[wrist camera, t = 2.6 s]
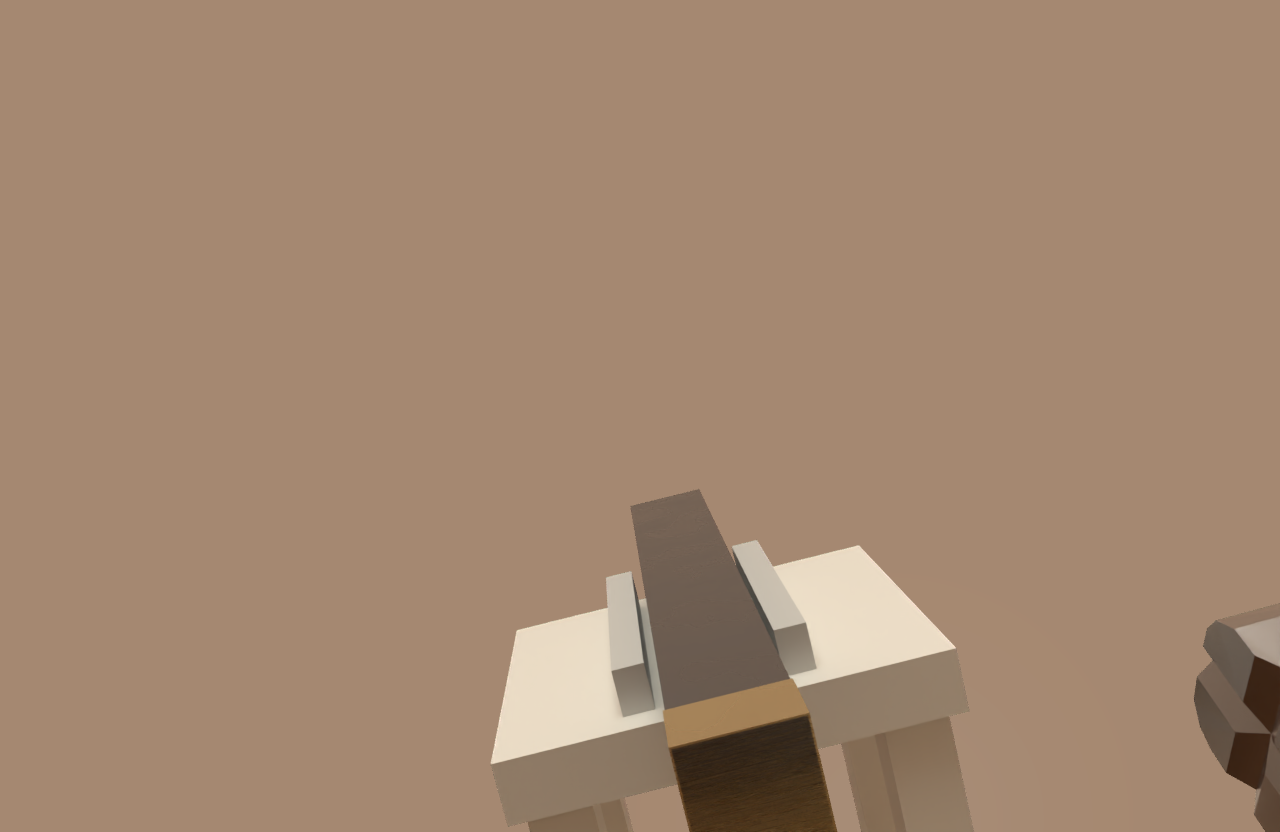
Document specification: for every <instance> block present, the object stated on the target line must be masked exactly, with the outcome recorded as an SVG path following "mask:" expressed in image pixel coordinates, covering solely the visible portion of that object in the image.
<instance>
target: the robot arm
mask: <svg viewBox="0 0 1280 832" xmlns="http://www.w3.org/2000/svg"><path fill="white" fill-rule="evenodd" d="M1203 647H1204V648H1205V650H1206V651H1207V653H1208V654H1209V655H1210V657H1211V658H1212V659H1213V661H1212V662H1211V663H1210V664H1209V665H1208V666H1207V667H1206V668H1205V669H1204V670H1203V671H1202V672H1201V673H1200V674H1199V675H1198V676H1197V680H1196V688H1195V695H1194V702H1195V706H1196V711H1197V715H1198V720H1199V724H1200V727H1201V730H1202V732H1203V734H1204V736H1205V738H1206V740H1207V742H1208V744H1209V746H1210V748H1211V750H1212V752H1213V753H1214V755H1215V757H1216V758H1217V760H1218V761H1219V763H1220V764H1221V766H1222V767H1223V769H1224V770H1225V772H1226V773H1228V774H1229V775H1231V776H1233V777H1235V778H1237V779H1238V780H1240V781H1242V782H1244V783H1246V784H1247V785H1249V786H1251V787H1253V788H1254V789H1256V798H1255V811H1254V815H1255V817H1256V818H1257V820H1258V821H1259V823H1260V824H1261V826H1262V827H1263V829H1264V830H1265V832H1280V603H1279V604H1275V605H1271V606H1268V607H1264V608H1260V609H1257V610H1253V611H1249V612H1245V613H1242V614H1238V615H1235V616H1230V617H1227V618H1223V619H1219V620H1216V621H1215V622H1214V623H1213V624H1212V625H1210V626H1209V627H1208V628H1207V631H1206V636H1205V640H1204V645H1203Z"/></svg>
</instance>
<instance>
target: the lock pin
mask: <svg viewBox="0 0 1280 832" xmlns="http://www.w3.org/2000/svg"><path fill="white" fill-rule="evenodd" d="M631 512H632V518H633V524H634V530H635V536H636V541H637V548H638V553H639V560H640V566H641V572H642V578H643V584H644V590H645V596H646V602H647V608H648V614H649V620H650V626H651V632H652V638H653V644H654V650H655V656H656V661H657V667H658V673H659V679H660V685H661V691H662V697H663V703H664V709H665V710H663V718H664V724H665V730H666V736H667V742H668V748H669V752H670V756H671V760H672V764H673V768H674V772H675V776H676V780H677V784H678V787H679V792H680V796H681V799H682V803H683V808H684V811H685V815H686V819H687V823H688V827H689V831H690V832H837V829H836V824H835V821H834V816H833V811H832V808H831V803H830V798H829V794H828V790H827V786H826V781H825V777H824V773H823V768H822V764H821V760H820V755H819V752H818V747H817V742H816V738H815V734H814V729H813V725H812V721H811V716H810V712H809V710H808V708H807V706H806V704H805V702H804V700H803V698H802V696H801V694H800V692H799V690H798V688H797V686H796V684H795V682H794V680H793V678H791V679H790V677H789V675H788V673H787V671H786V669H785V667H784V665H783V663H782V661H781V658H780V656H779V654H778V652H777V650H776V648H775V646H774V644H773V642H772V640H771V638H770V636H769V634H768V631H767V629H766V627H765V625H764V623H763V621H762V619H761V617H760V615H759V613H758V611H757V609H756V607H755V604H754V602H753V600H752V598H751V596H750V594H749V592H748V590H747V588H746V586H745V584H744V582H743V579H742V577H741V575H740V573H739V571H738V569H737V567H736V565H735V563H734V561H733V559H732V557H731V555H730V553H729V551H728V548H727V546H726V544H725V542H724V540H723V538H722V536H721V534H720V532H719V530H718V528H717V525H716V523H715V521H714V519H713V517H712V515H711V513H710V511H709V509H708V507H707V505H706V503H705V501H704V499H703V497H702V494H701V492H700V490H699V489H698V490H695V491H690V492H686V493H682V494H678V495H674V496H670V497H666V498H662V499H658V500H654V501H650V502H645V503H641V504H638V505H634V506H631Z"/></svg>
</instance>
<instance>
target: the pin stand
mask: <svg viewBox="0 0 1280 832" xmlns="http://www.w3.org/2000/svg"><path fill="white" fill-rule="evenodd" d="M732 549H733V554H734V558H735V562H736V567H737V569H738V571H739V573H740V575H741V577H742V579H743V582H744V584H745V586H746V588H747V590H748V592H749V594H750V596H751V598H752V600H753V602H754V604H755V607H756V609H757V611H758V613H759V615H760V617H761V619H762V621H763V623H764V625H765V627H766V629H767V631H768V634H769V636H770V638H771V640H772V642H773V644H774V646H775V648H776V650H777V652H778V654H779V656H780V658H781V661H782V663H783V665H784V667H785V669H786V671H787V673H788V675H789V677H790V679H791V678H793V680H794V682H795V684H796V686H797V688H798V690H799V692H800V694H801V696H802V698H803V700H804V702H805V704H806V706H807V708H808V710H809V712H810V716H811V721H812V725H813V729H814V734H815V738H816V742H817V747H818V749H821V748H825V747H829V746H833V745H837V744H841V745H842V749H843V753H844V757H845V762H846V766H847V771H848V775H849V780H850V784H851V788H852V793H853V797H854V802H855V806H856V810H857V815H858V819H859V823H860V828H861V832H974V830H973V826H972V821H971V817H970V811H969V807H968V802H967V797H966V793H965V788H964V784H963V779H962V774H961V769H960V765H959V760H958V756H957V751H956V746H955V741H954V736H953V732H952V727H951V722H950V718H949V716H953V715H957V714H961V713H965V712H968V711H969V707H968V702H967V698H966V693H965V688H964V683H963V678H962V674H961V669H960V664H959V660H958V655H957V650H956V648H955V646H953V644H952V643H951V642H950V641H949V640H948V639H947V638H946V637H945V636H944V635H943V634H942V633H941V632H940V631H939V629H938V628H937V627H936V626H935V625H934V624H933V623H932V622H931V621H930V620H929V619H928V618H927V617H926V616H925V615H924V614H923V613H922V612H921V611H920V609H919V608H918V607H917V606H916V605H915V604H914V603H913V602H912V601H911V600H910V599H909V598H908V597H907V596H906V595H905V594H904V593H903V592H902V591H901V589H900V588H899V587H898V586H897V585H896V584H895V583H894V582H893V581H892V580H891V579H890V578H889V577H888V576H887V575H886V574H885V573H884V571H883V570H882V569H881V568H880V567H879V566H878V565H877V564H876V563H875V562H874V561H873V560H872V559H871V558H870V557H869V556H868V555H867V554H866V553H865V552H864V550H862V548H861V547H860V546H859V545H858V546H854V547H850V548H846V549H843V550H838V551H834V552H831V553H826V554H822V555H818V556H814V557H810V558H806V559H802V560H798V561H794V562H790V563H786V564H782V565H778V566H774V567H773V566H772V565H771V563H770V561H769V560H768V558H767V556H766V555H765V553H764V552H763V550H762V548H761V546H760V545H759V543H758V541H757V540H755V541H751V542H747V543H743V544H739V545H735V546H732ZM606 582H607V601H608V608H605V609H601V610H597V611H593V612H589V613H585V614H581V615H577V616H573V617H569V618H565V619H561V620H557V621H553V622H549V623H545V624H541V625H537V626H533V627H528V628H524V629H521V630H517V633H516V638H515V643H514V648H513V653H512V658H511V663H510V669H509V674H508V679H507V684H506V689H505V694H504V699H503V704H502V709H501V714H500V719H499V725H498V730H497V735H496V740H495V745H494V750H493V755H492V760H491V767H492V771H493V775H494V778H495V782H496V785H497V789H498V793H499V796H500V800H501V803H502V807H503V810H504V814H505V818H506V821H507V825H508V827H509V826H513V825H517V824H521V823H525V822H528V825H529V829H530V832H633V829H632V825H631V821H630V817H629V813H628V809H627V805H626V802H625V797H629V796H633V795H637V794H641V793H645V792H649V791H653V790H657V789H661V788H665V787H669V786H673V785H677V780H676V776H675V772H674V768H673V764H672V760H671V756H670V752H669V748H668V742H667V736H666V730H665V724H664V718H663V710H665V709H664V703H663V697H662V691H661V685H660V679H659V673H658V667H657V661H656V656H655V650H654V644H653V638H652V632H651V626H650V620H649V614H648V608H647V602H646V598H645V599H642V600H638V596H637V592H636V588H635V584H634V580H633V577H632V573H631V571H630V572H626V573H622V574H618V575H614V576H611V577H607V578H606Z"/></svg>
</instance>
